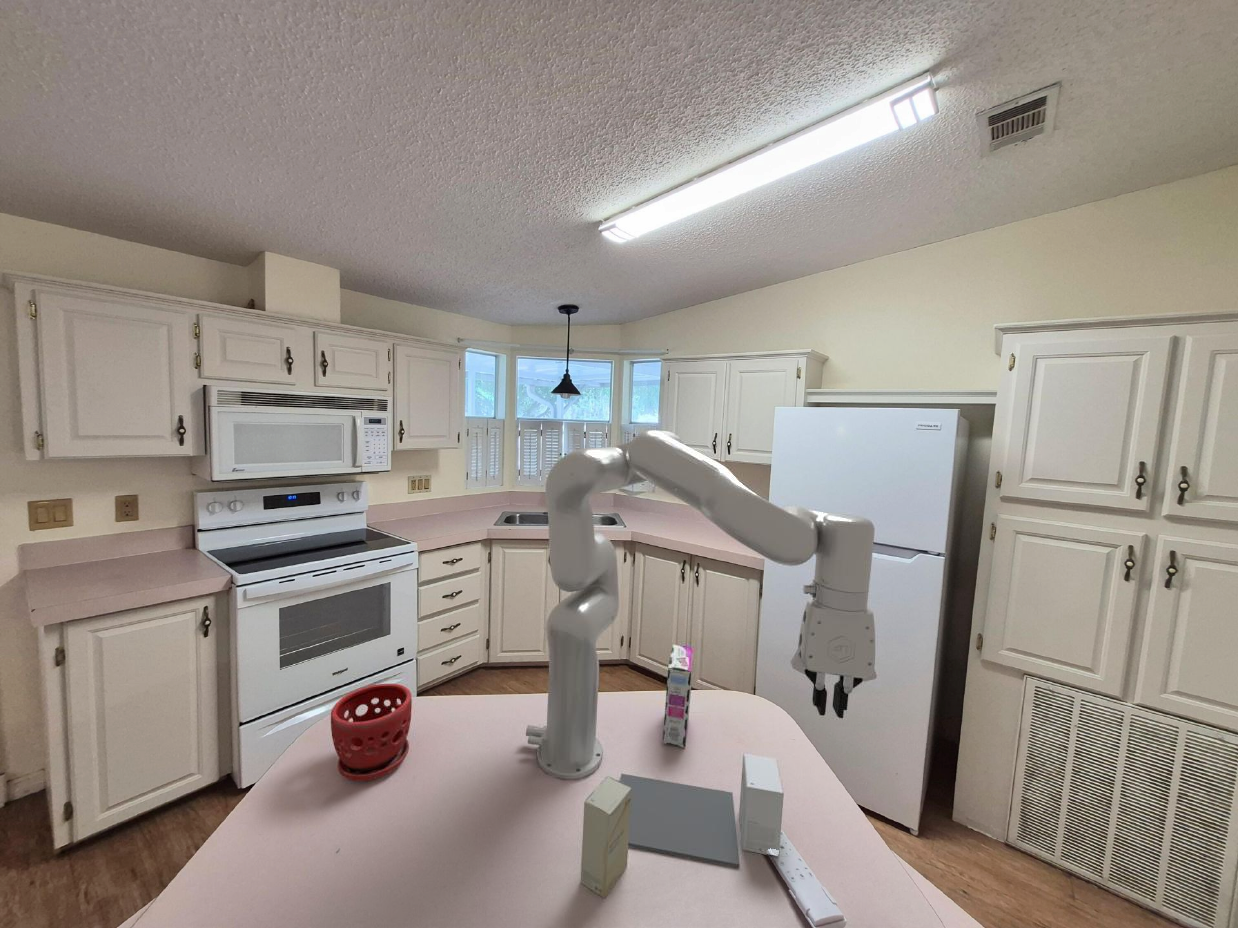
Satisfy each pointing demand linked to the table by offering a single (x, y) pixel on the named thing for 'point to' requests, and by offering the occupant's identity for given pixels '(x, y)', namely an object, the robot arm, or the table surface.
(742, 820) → the small box
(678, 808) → the mat
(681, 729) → the candy bar box
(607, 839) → the skincare box
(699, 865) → the table surface
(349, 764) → the plant pot
